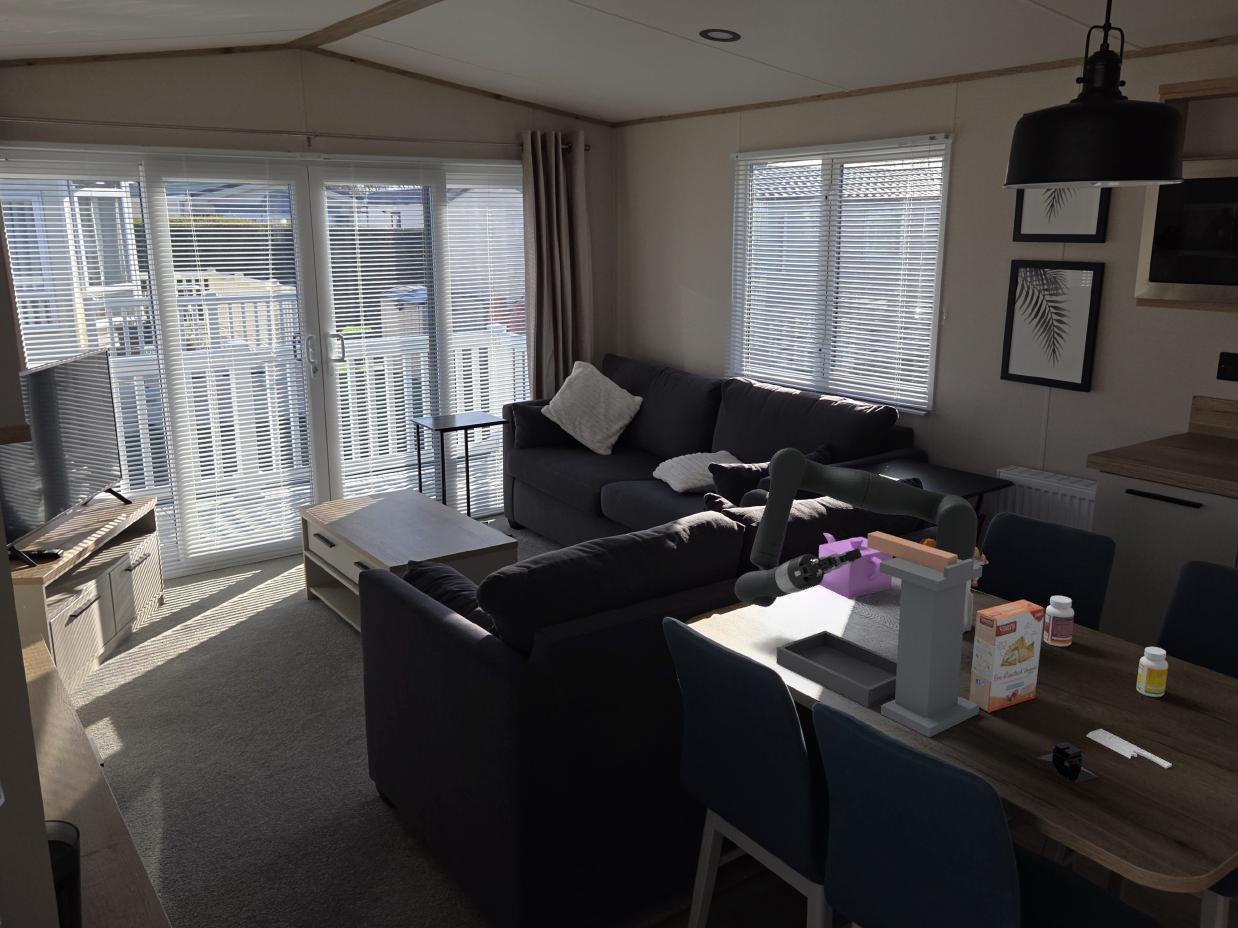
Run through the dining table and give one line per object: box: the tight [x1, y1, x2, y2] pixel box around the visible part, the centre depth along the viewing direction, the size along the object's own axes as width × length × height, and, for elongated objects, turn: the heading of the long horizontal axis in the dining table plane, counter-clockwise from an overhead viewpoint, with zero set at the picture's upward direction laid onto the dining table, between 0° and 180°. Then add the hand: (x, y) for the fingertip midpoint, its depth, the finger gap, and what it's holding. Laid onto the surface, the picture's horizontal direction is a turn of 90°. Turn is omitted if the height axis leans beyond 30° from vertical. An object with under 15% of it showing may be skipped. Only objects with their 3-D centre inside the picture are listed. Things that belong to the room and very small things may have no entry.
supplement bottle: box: [1136, 646, 1169, 698], centre depth 209 cm, size 5×5×10 cm
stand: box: [879, 556, 983, 738], centre depth 200 cm, size 15×16×34 cm
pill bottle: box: [1043, 595, 1075, 648], centre depth 235 cm, size 6×6×11 cm
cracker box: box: [968, 599, 1046, 713], centre depth 205 cm, size 14×6×21 cm, turn 117°
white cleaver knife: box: [1086, 728, 1173, 769], centre depth 187 cm, size 5×15×1 cm, turn 26°
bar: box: [867, 530, 958, 572], centre depth 200 cm, size 20×3×3 cm, turn 36°
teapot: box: [818, 532, 894, 600], centre depth 274 cm, size 15×25×14 cm, turn 28°
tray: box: [776, 630, 897, 708], centre depth 220 cm, size 27×16×4 cm, turn 35°
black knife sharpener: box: [1035, 741, 1098, 784], centre depth 182 cm, size 12×7×5 cm, turn 22°
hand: (846, 556), depth 215 cm, fingers open, 8 cm apart
